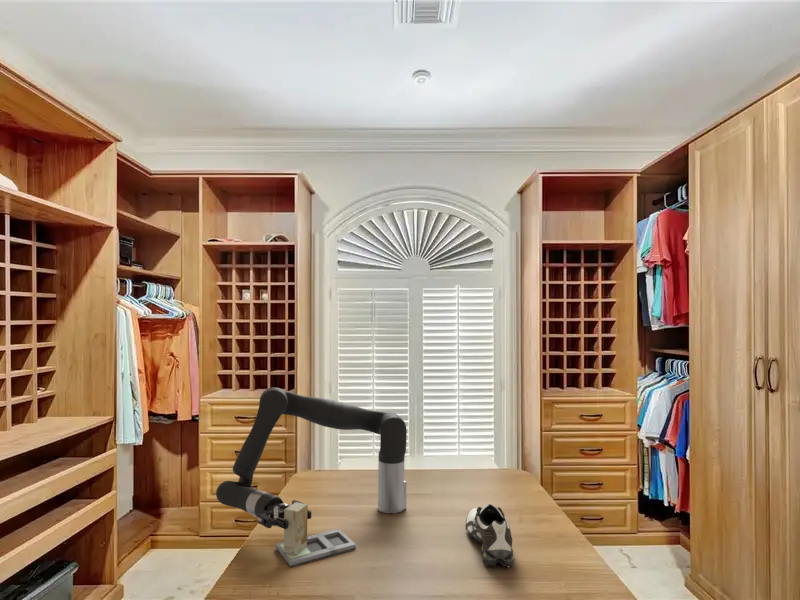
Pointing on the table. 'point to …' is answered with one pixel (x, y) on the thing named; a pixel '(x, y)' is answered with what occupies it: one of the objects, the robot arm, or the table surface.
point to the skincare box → (295, 528)
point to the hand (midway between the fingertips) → (299, 520)
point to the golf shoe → (491, 534)
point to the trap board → (319, 547)
